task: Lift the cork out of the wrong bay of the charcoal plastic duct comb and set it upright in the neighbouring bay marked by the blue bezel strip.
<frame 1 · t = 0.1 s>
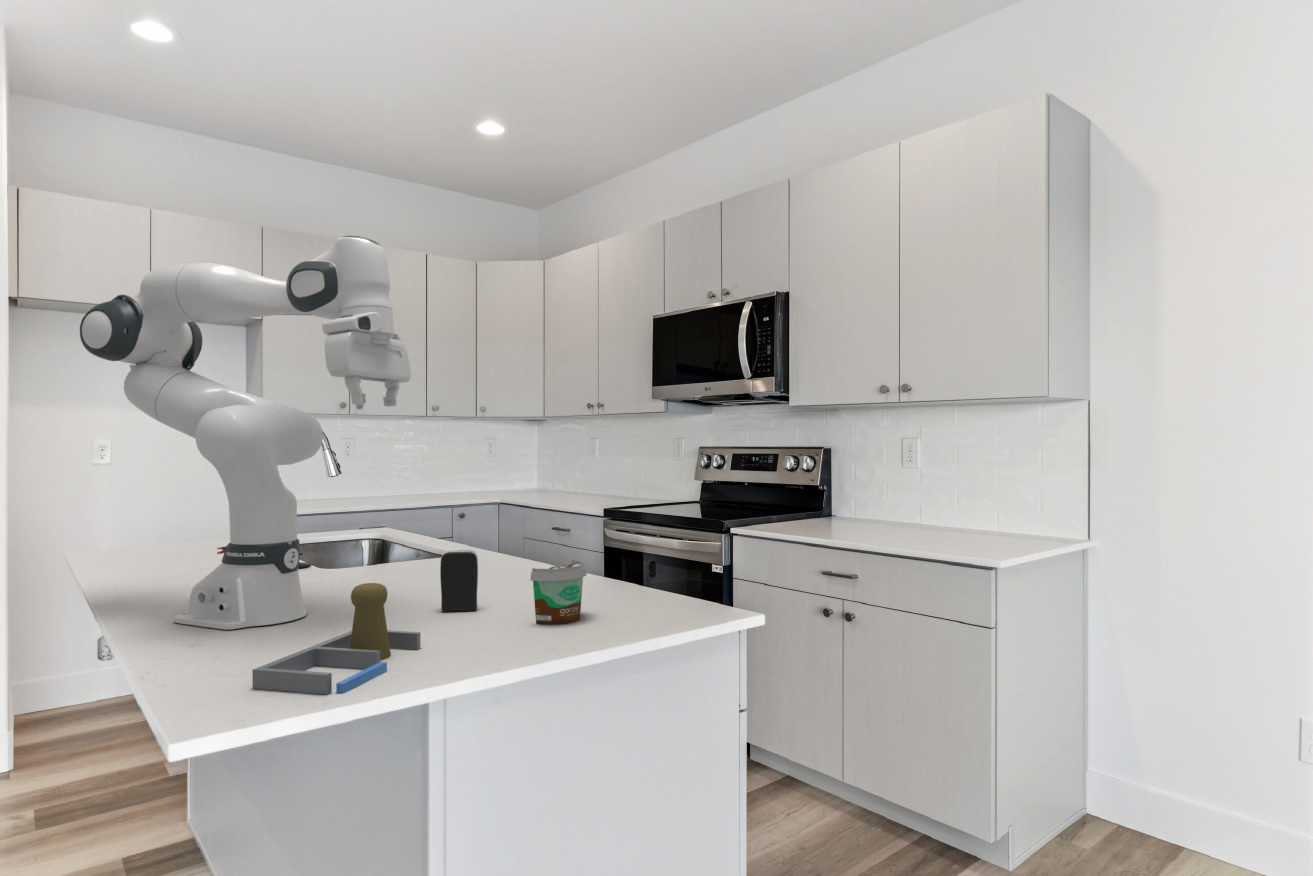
hand: (375, 405, 140), 39 cm above the countertop, tool pointing down, fingers open, 8 cm apart
food container: (566, 622, 142), on the countertop
cork: (369, 658, 120), on the countertop
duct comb: (347, 666, 114), on the countertop
battery charger: (460, 611, 152), on the countertop
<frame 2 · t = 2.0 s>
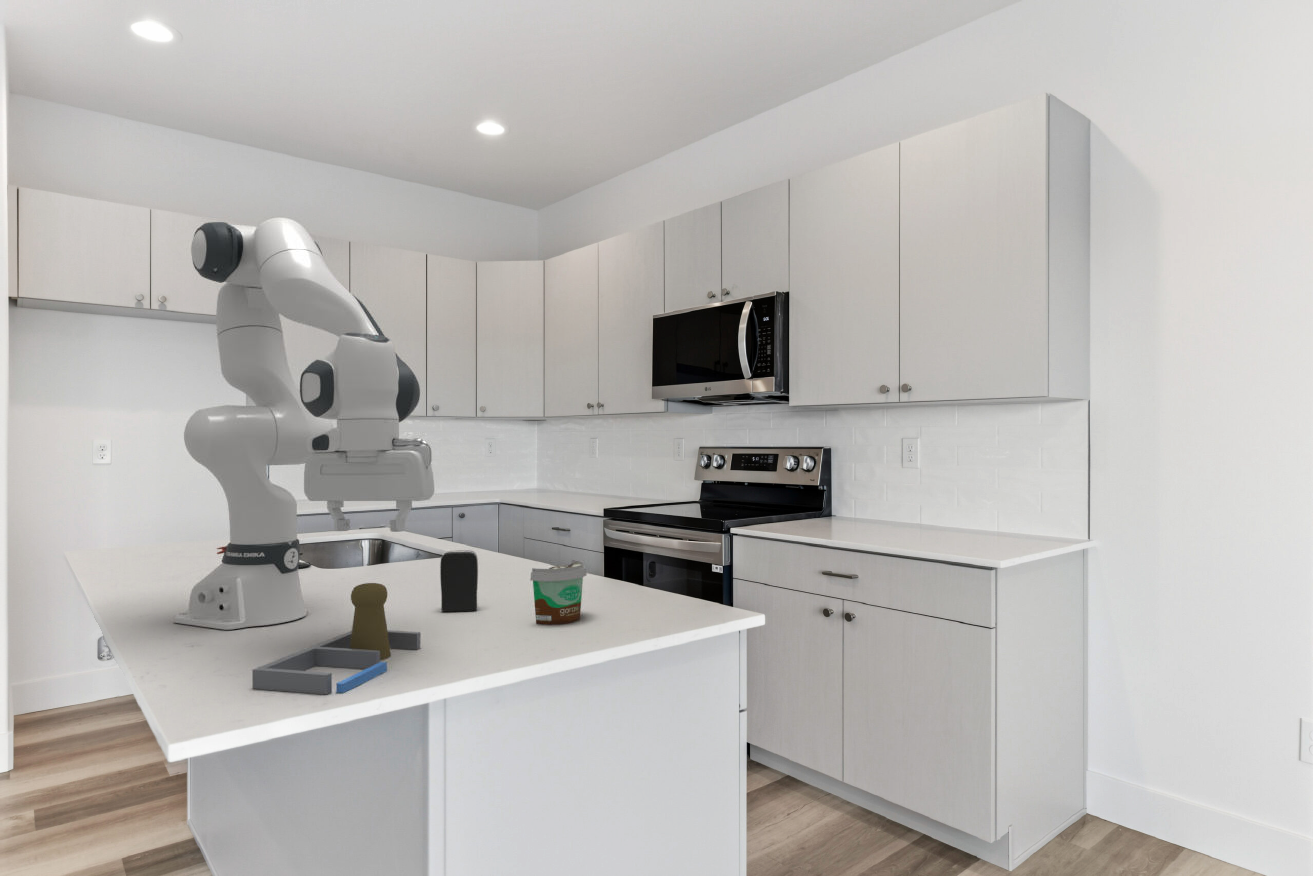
hand: (369, 531, 119), 19 cm above the countertop, tool pointing down, fingers open, 8 cm apart
nothing on the countertop moved.
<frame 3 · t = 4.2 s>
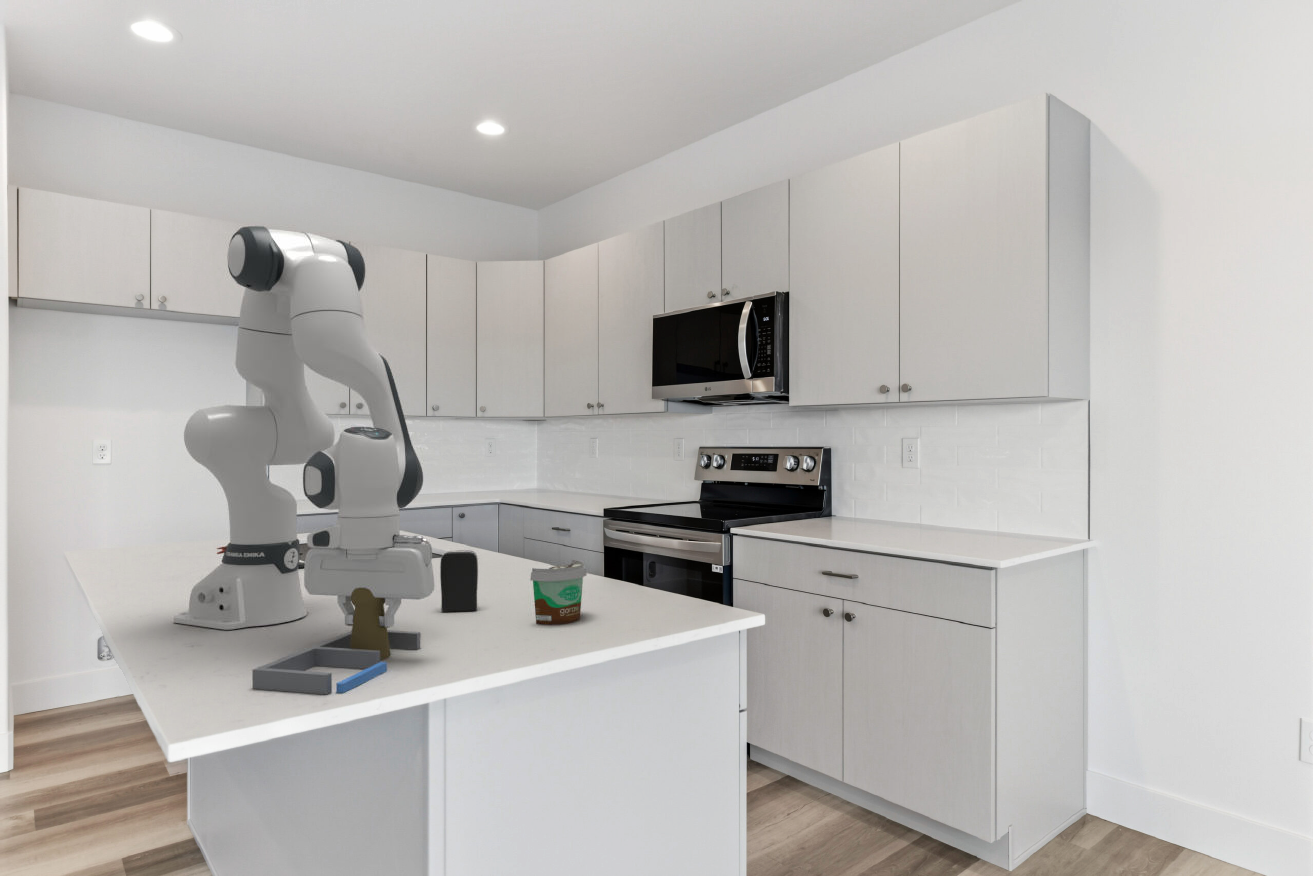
hand: (369, 626, 120), 5 cm above the countertop, tool pointing down, fingers closed on cork, 4 cm apart
cork: (369, 658, 120), on the countertop, touching gripper
everything else where it was.
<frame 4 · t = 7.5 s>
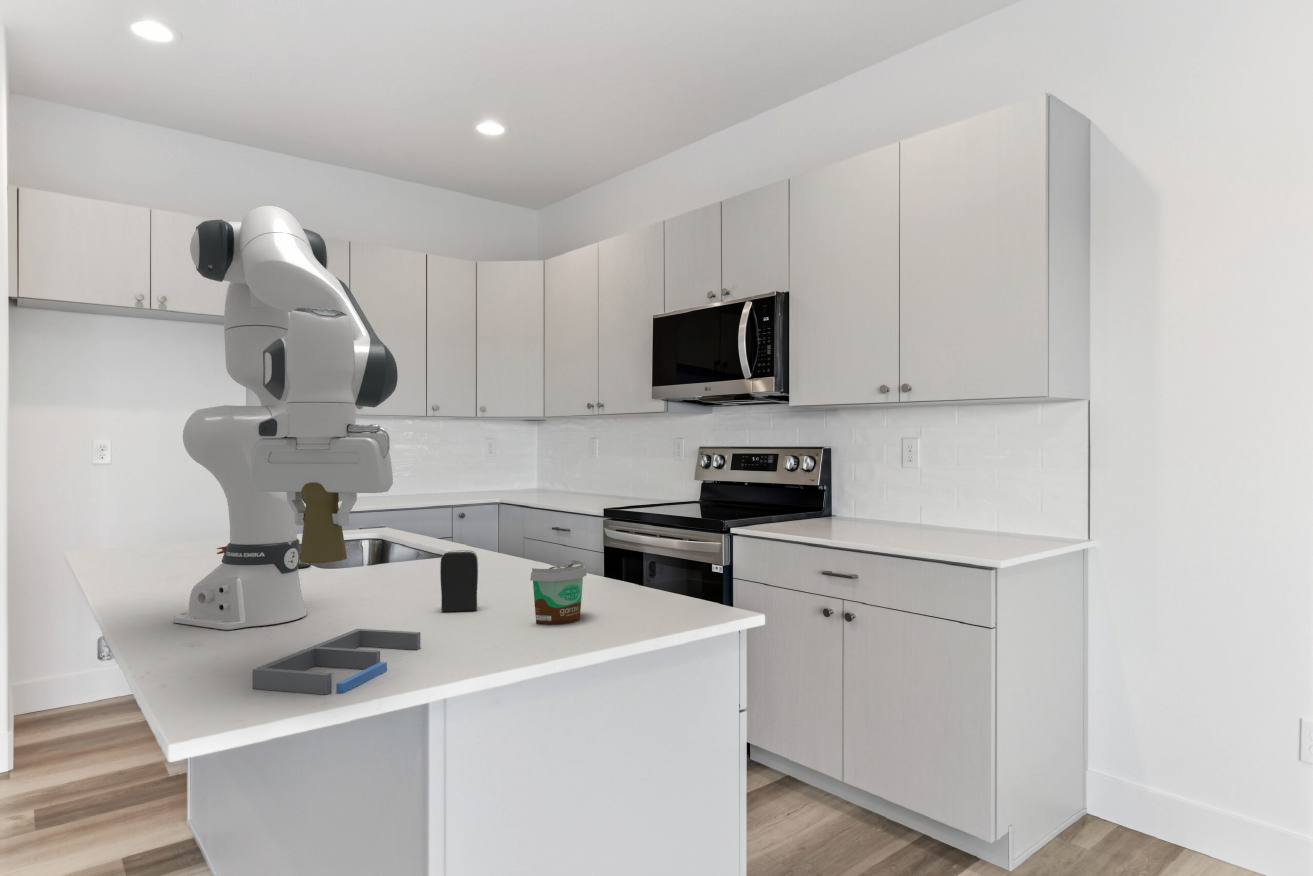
hand: (321, 525, 109), 21 cm above the countertop, tool pointing down, fingers closed on cork, 4 cm apart
cork: (323, 561, 109), point 16 cm above the countertop, touching gripper
everything else where it was.
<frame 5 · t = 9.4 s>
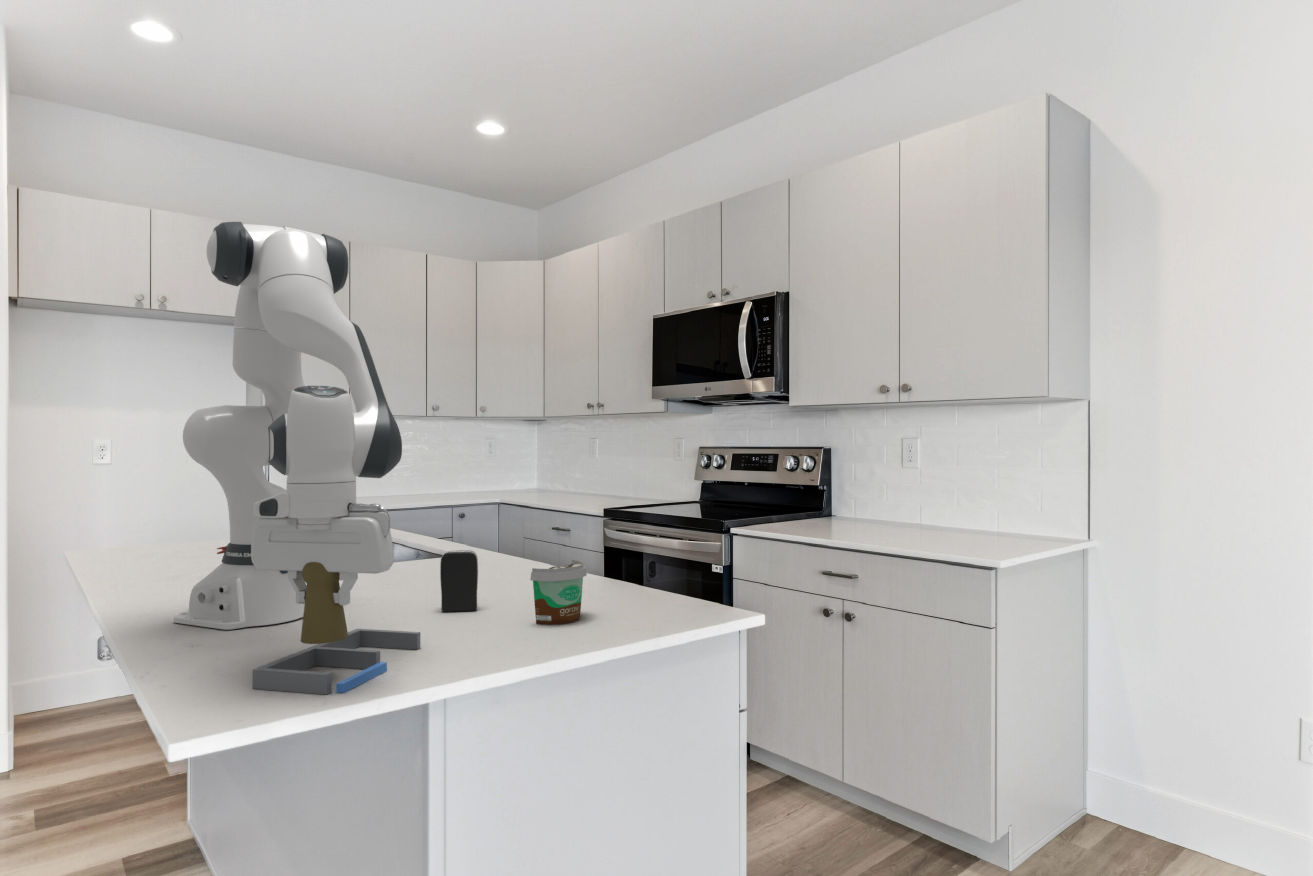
hand: (322, 604, 109), 10 cm above the countertop, tool pointing down, fingers closed on cork, 4 cm apart
cork: (324, 640, 109), point 5 cm above the countertop, touching gripper
everything else where it was.
when the fingers open (6 cm above the countertop, at t = 11.2 s): cork stays where it is, on the countertop.
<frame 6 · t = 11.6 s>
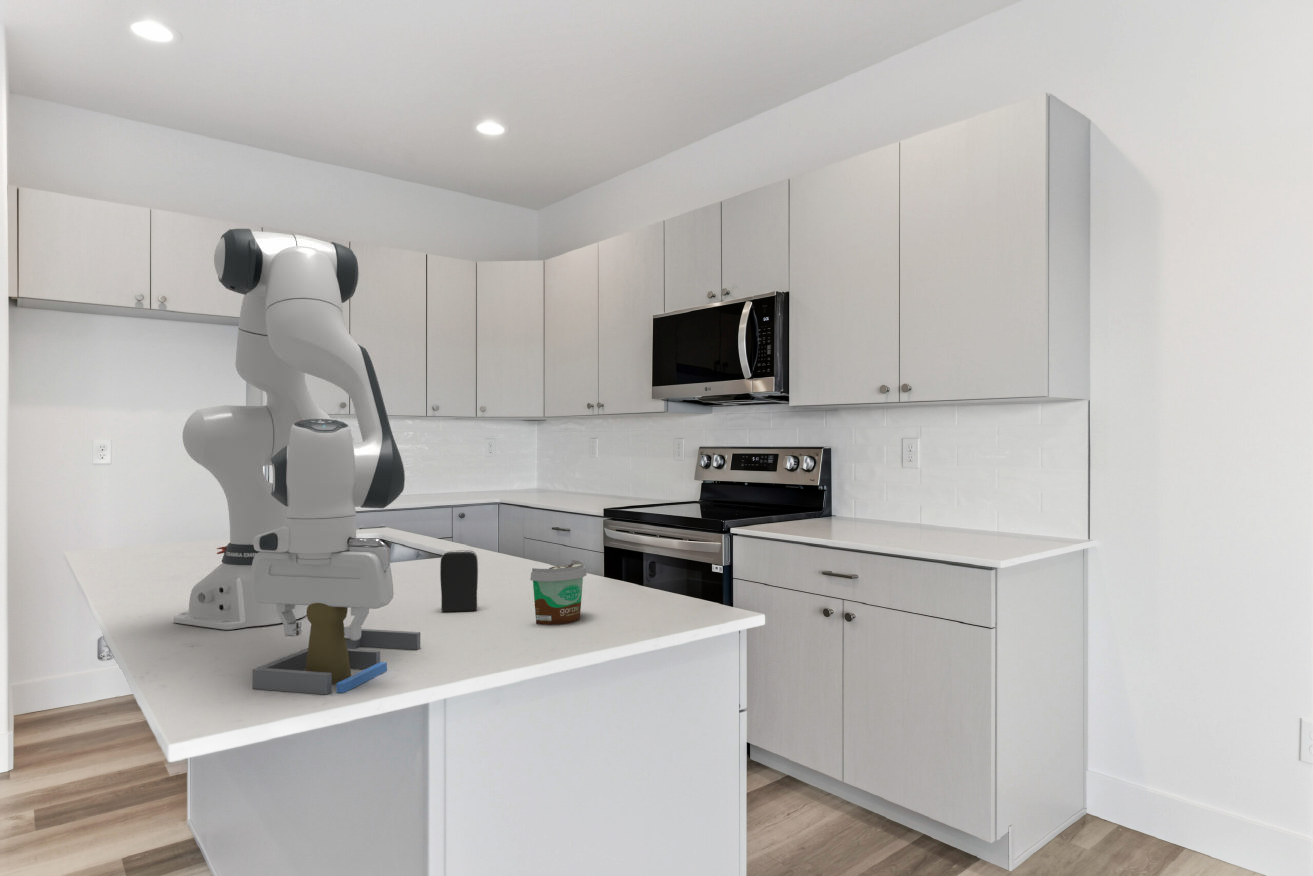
hand: (322, 637, 109), 6 cm above the countertop, tool pointing down, fingers open, 8 cm apart
cork: (327, 680, 109), on the countertop
everything else where it was.
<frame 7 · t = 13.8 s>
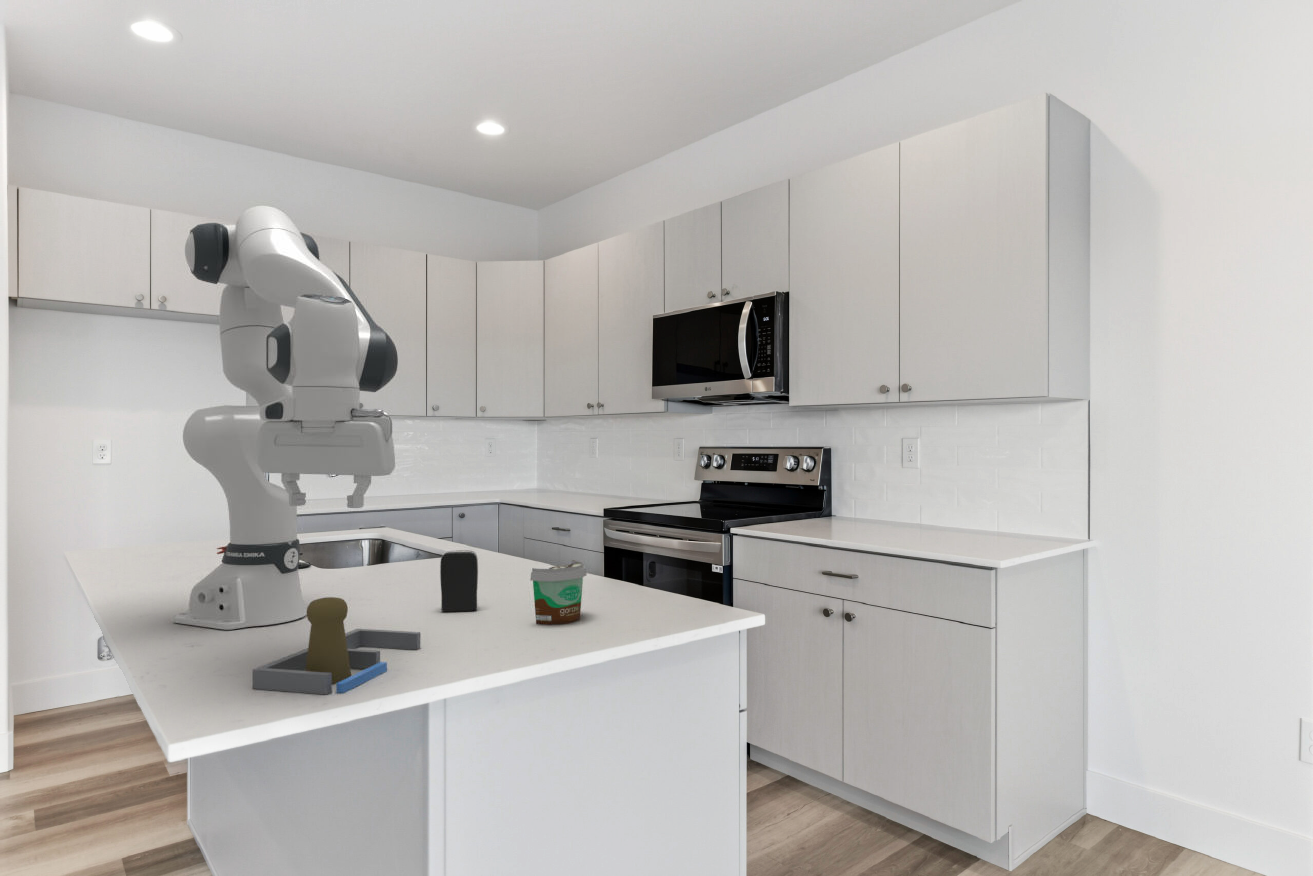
hand: (326, 506, 112), 23 cm above the countertop, tool pointing down, fingers open, 8 cm apart
nothing on the countertop moved.
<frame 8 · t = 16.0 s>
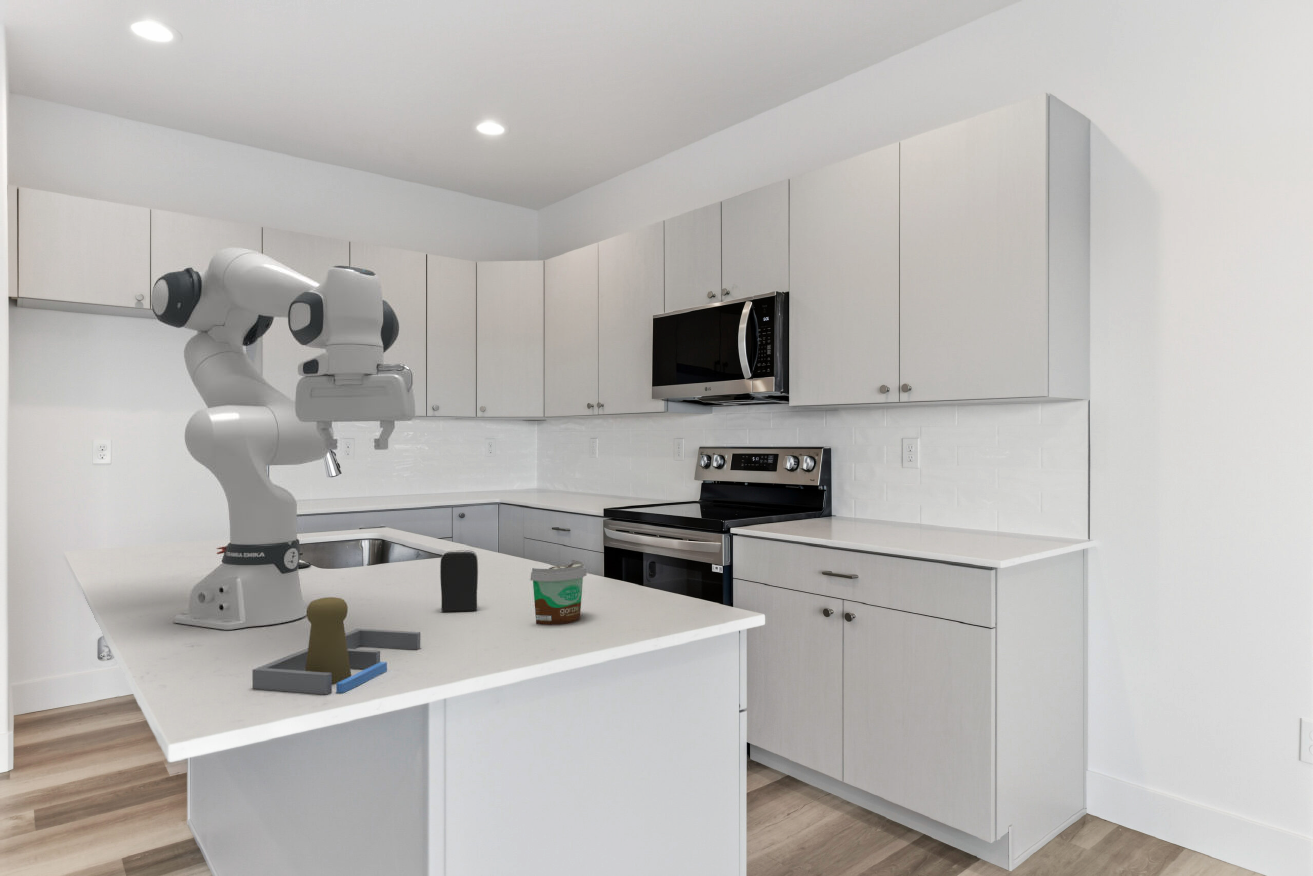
hand: (355, 449, 130), 31 cm above the countertop, tool pointing down, fingers open, 8 cm apart
nothing on the countertop moved.
at the end: cork 0.7 cm from the target spot on the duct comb, point 0.0 cm above the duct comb's base; cork tilted 0°; the gripper is holding nothing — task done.
